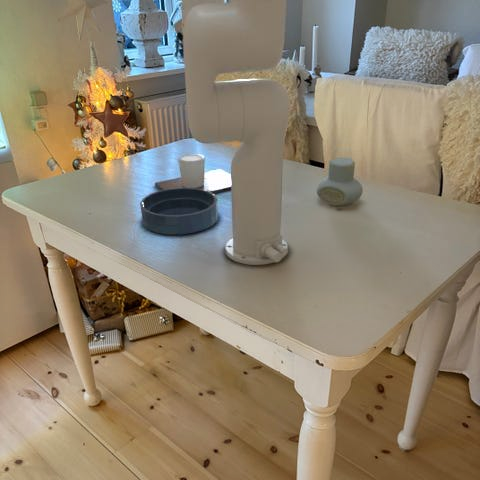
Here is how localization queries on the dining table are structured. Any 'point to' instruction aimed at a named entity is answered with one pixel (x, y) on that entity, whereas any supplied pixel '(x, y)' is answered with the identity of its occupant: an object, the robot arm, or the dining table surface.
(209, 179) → the board
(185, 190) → the bowl
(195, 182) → the white cup
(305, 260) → the dining table surface
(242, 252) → the robot arm
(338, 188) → the air freshener
